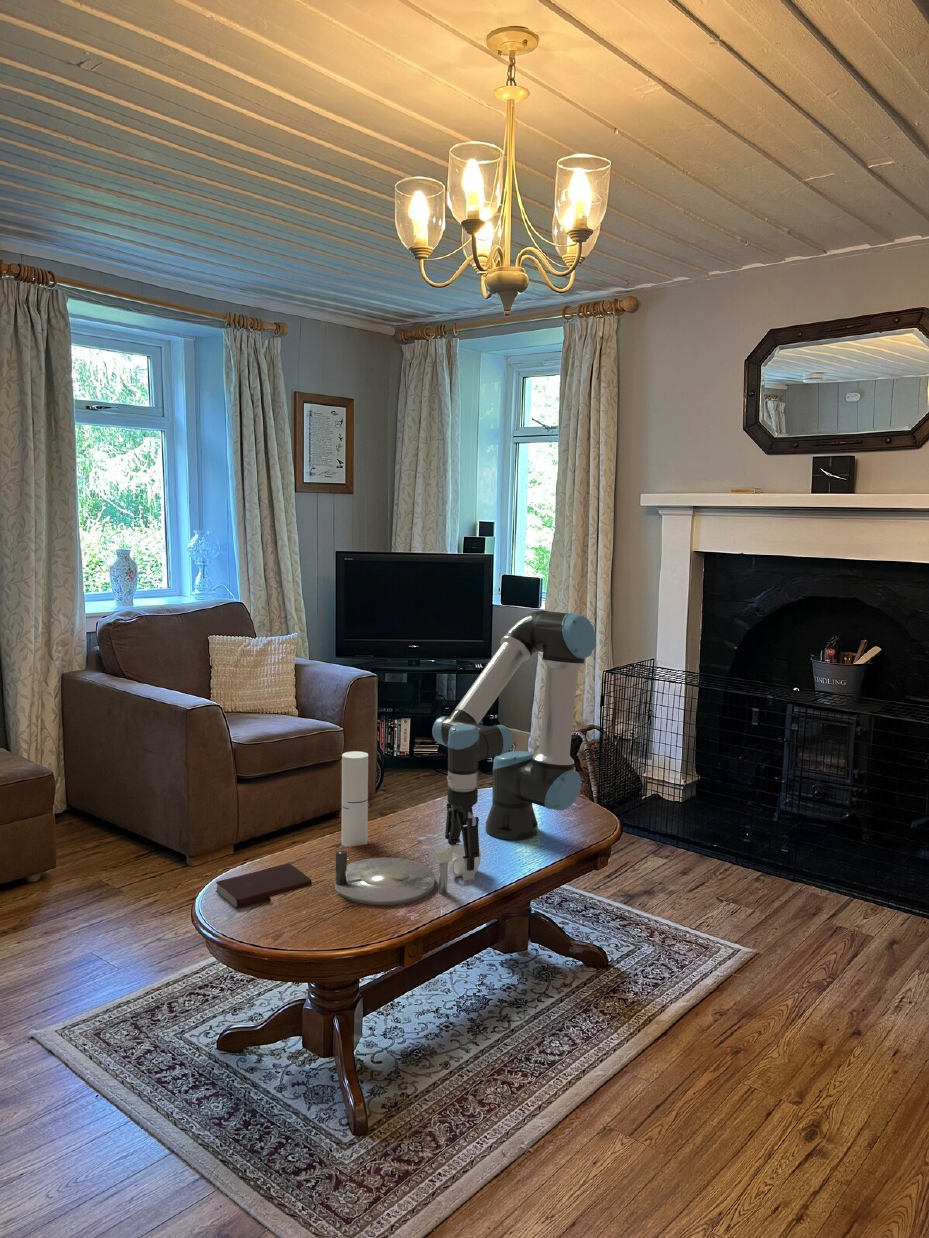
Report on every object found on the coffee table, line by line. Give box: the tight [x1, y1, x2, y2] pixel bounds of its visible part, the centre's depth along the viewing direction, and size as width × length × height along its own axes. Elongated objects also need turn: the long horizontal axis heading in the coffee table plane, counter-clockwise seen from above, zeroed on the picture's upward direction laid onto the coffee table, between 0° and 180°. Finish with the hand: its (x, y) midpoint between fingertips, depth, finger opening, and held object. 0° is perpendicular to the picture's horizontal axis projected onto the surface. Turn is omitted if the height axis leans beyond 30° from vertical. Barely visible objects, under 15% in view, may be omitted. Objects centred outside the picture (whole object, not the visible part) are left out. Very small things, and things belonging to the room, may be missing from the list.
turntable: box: [334, 850, 435, 906], centre depth 216 cm, size 24×24×10 cm
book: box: [215, 863, 313, 910], centre depth 215 cm, size 12×19×3 cm, turn 128°
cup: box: [448, 844, 482, 878], centre depth 224 cm, size 8×10×7 cm
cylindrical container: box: [341, 750, 369, 848], centre depth 246 cm, size 7×7×25 cm
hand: (461, 875), depth 225 cm, fingers closed on cup, 8 cm apart
